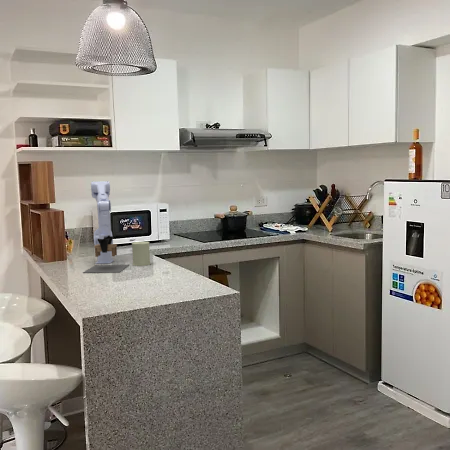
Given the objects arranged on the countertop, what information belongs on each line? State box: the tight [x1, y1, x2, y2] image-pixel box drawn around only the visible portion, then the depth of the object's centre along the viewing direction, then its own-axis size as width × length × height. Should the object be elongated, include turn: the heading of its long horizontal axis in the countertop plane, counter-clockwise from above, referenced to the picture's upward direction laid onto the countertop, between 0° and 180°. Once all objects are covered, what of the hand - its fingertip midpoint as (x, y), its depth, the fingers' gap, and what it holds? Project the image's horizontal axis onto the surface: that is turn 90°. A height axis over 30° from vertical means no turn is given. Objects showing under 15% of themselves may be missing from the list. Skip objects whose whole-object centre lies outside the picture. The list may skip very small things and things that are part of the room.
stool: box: [93, 243, 118, 258], centre depth 256 cm, size 10×5×6 cm, turn 88°
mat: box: [82, 264, 130, 274], centre depth 257 cm, size 20×18×1 cm
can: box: [131, 241, 151, 267], centre depth 268 cm, size 9×9×12 cm
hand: (106, 251), depth 256 cm, fingers closed on stool, 5 cm apart
